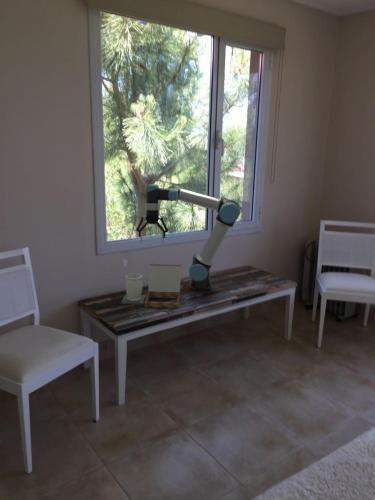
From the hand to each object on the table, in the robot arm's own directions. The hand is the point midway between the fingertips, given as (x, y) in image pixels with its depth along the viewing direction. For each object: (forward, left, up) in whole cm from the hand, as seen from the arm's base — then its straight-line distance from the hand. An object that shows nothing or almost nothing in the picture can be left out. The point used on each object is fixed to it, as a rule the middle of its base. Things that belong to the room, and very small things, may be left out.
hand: (152, 242), depth 265 cm
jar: (+9, +18, -32) cm, 38 cm away
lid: (-9, +8, -21) cm, 24 cm away
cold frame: (-9, +19, -33) cm, 39 cm away
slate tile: (+9, +18, -33) cm, 38 cm away
